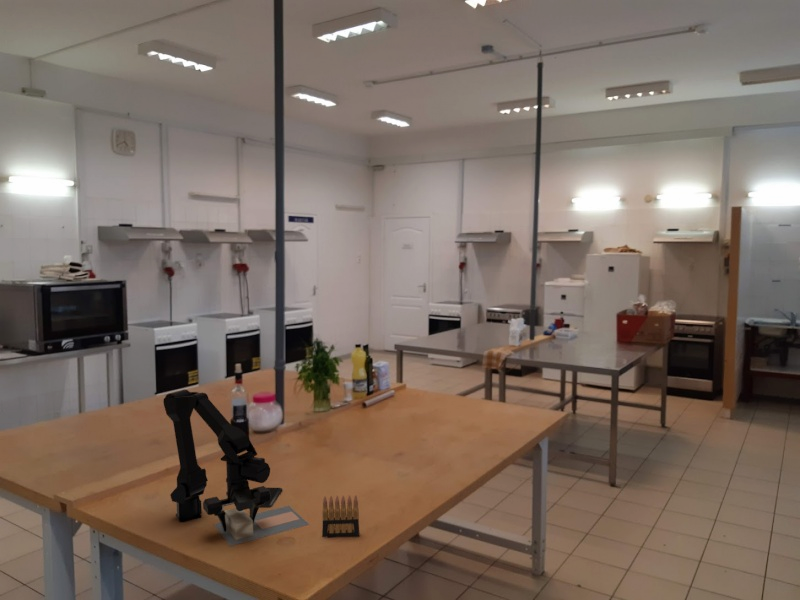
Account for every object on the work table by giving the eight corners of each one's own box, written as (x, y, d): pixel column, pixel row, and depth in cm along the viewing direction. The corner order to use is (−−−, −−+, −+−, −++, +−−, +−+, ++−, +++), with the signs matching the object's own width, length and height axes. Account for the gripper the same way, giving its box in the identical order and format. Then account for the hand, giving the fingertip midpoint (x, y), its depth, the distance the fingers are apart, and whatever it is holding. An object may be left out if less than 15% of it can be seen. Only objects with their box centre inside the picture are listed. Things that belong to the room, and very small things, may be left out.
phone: (283, 487, 209) (271, 506, 194) (283, 491, 209) (271, 509, 194) (260, 487, 209) (247, 505, 195) (260, 490, 210) (247, 509, 195)
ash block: (236, 540, 173) (235, 524, 172) (224, 525, 182) (224, 510, 182) (253, 535, 175) (252, 520, 175) (240, 521, 185) (240, 506, 184)
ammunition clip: (322, 537, 174) (321, 497, 173) (322, 534, 176) (321, 494, 175) (359, 536, 175) (358, 496, 174) (359, 533, 177) (358, 493, 176)
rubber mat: (230, 547, 169) (230, 545, 169) (213, 525, 183) (213, 524, 183) (309, 525, 182) (309, 524, 182) (288, 506, 196) (288, 505, 196)
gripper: (212, 492, 165) (214, 547, 167) (277, 478, 175) (278, 530, 177) (201, 479, 175) (203, 532, 176) (263, 466, 185) (265, 516, 186)
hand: (238, 527), depth 179 cm, fingers open, 8 cm apart
